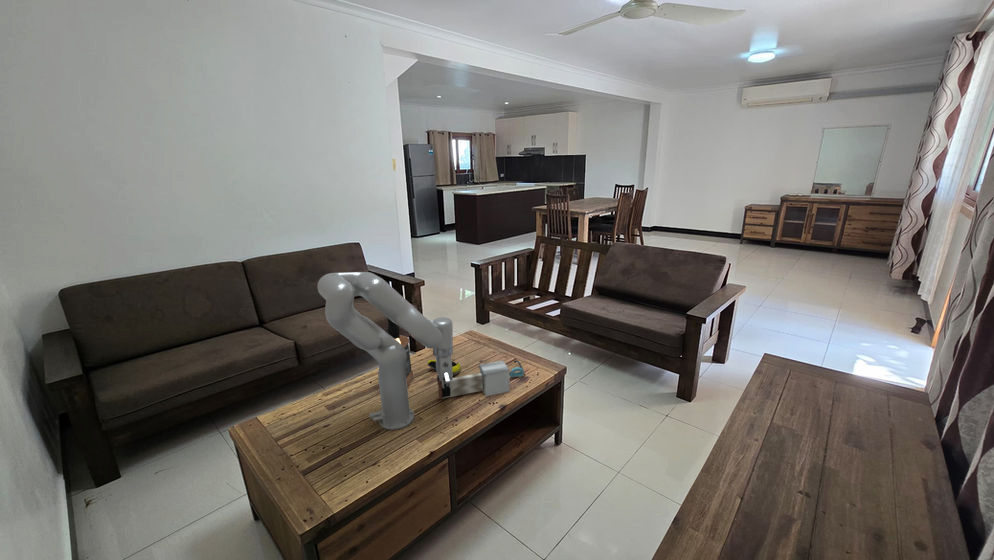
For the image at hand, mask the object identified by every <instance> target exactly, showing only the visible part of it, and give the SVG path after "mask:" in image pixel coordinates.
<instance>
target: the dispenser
mask: <svg viewBox="0 0 994 560" xmlns="http://www.w3.org/2000/svg"><path fill="white" fill-rule="evenodd" d="M478 369H479V373H481V374H482V379H483V393H484V395H485V397H489V396H495V395H499V394H504V393H508V392H509V393H510V392H511V389H510V386H511V385H510V384H511V383H510V376H509V373H510V368H509V367H508V366H507V364H506V363H505V361H504V360H498V361H493V362H492V361H491V362H486V363H481V364H478Z"/></svg>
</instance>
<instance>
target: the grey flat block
mask: <svg viewBox="0 0 994 560" xmlns="http://www.w3.org/2000/svg"><path fill="white" fill-rule="evenodd" d="M444 380H445V379H444ZM449 381H450V394H451V395H450V396H448V397H442V387H443V386H442V382H441V381H440V380H438V384H437V389H438V397H439V400H442V399H446V398H451V397H457V396H462V395H467V394H472V393H476V392H482V391H483V379H482V374H481V373H480V372H479V373H478V372H477V373H473V374H472V373H471V374H467V375H461V376H456V377H453V379H452V380H450V379H449ZM444 384H445V382H444Z"/></svg>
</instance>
